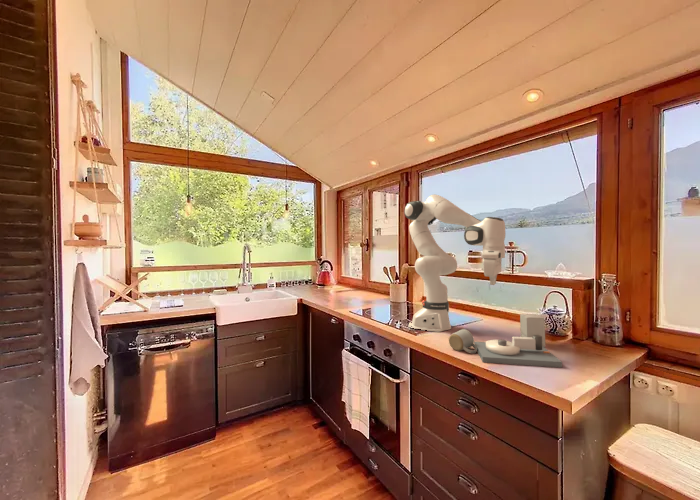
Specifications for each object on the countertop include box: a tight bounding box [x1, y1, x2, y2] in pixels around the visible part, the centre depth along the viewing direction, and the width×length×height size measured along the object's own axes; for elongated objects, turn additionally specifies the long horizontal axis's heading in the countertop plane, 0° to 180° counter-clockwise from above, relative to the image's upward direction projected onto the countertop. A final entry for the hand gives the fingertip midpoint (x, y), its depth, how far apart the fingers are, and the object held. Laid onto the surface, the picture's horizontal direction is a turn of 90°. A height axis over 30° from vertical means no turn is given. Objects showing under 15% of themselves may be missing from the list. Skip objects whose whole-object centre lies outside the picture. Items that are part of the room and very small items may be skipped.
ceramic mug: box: [448, 328, 477, 355], centre depth 121 cm, size 11×8×8 cm
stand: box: [474, 341, 563, 368], centre depth 114 cm, size 26×18×2 cm
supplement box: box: [519, 313, 546, 348], centre depth 126 cm, size 7×7×13 cm
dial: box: [485, 335, 542, 355], centre depth 114 cm, size 20×12×6 cm, turn 77°
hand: (492, 284), depth 128 cm, fingers closed
